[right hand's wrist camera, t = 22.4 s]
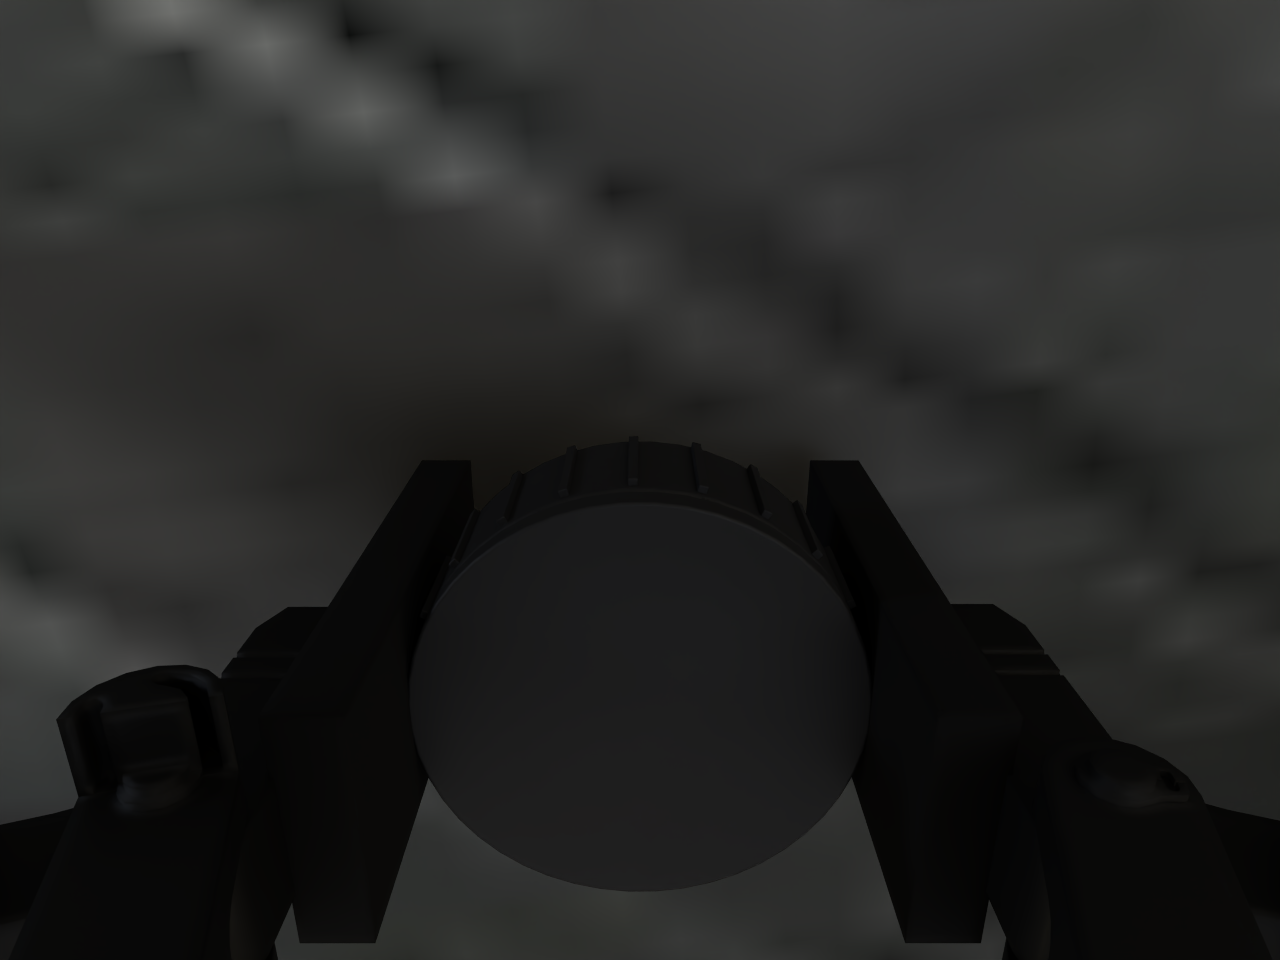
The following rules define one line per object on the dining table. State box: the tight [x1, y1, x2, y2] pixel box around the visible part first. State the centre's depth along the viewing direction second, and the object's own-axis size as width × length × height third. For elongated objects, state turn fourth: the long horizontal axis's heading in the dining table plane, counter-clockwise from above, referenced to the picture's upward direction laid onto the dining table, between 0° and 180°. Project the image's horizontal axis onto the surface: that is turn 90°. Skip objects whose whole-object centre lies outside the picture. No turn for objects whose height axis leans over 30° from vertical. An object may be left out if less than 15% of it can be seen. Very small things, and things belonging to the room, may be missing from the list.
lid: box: [408, 436, 872, 891], centre depth 11 cm, size 6×6×2 cm
